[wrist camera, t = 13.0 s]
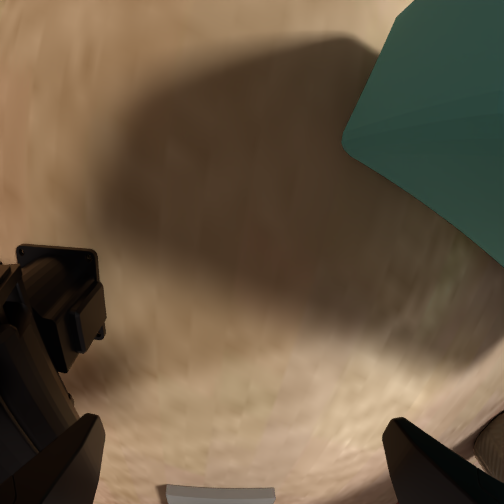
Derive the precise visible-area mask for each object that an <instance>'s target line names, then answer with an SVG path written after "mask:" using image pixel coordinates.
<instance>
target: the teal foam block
mask: <svg viewBox="0 0 504 504" xmlns="http://www.w3.org/2000/svg"><path fill="white" fill-rule="evenodd" d="M341 143H342V146H343V149H344V150H345V151H346V152H347V153H348V154H349V155H350V156H351V157H353V158H354V159H356V160H358V161H359V162H361V163H363V164H364V165H366V166H368V167H369V168H371V169H372V170H374V171H376V172H377V173H379V174H380V175H382V176H384V177H385V178H387V179H388V180H390V181H391V182H393V183H394V184H396V185H397V186H399V187H400V188H402V189H403V190H405V191H406V192H408V193H409V194H411V195H412V196H414V197H415V198H416V199H418V200H419V201H421V202H422V203H424V204H425V205H426V206H428V207H429V208H430V209H432V210H433V211H435V212H436V213H437V214H439V215H440V216H441V217H443V218H444V219H445V220H447V221H448V222H449V223H451V224H452V225H453V226H454V227H456V228H457V229H458V230H460V231H461V232H462V233H463V234H465V235H466V236H467V237H468V238H470V239H471V240H472V241H473V242H475V243H476V244H477V245H478V246H479V247H481V248H482V249H483V250H484V251H485V252H486V253H488V254H489V255H490V256H491V257H492V258H493V259H495V260H496V261H497V262H498V263H499V264H500V265H501V266H503V267H504V0H414V1H413V2H412V3H411V4H410V5H409V6H408V7H407V8H406V9H405V10H404V11H403V12H401V13H400V14H399V15H398V16H397V17H396V19H395V21H394V24H393V26H392V28H391V31H390V33H389V35H388V37H387V39H386V42H385V44H384V46H383V48H382V51H381V53H380V55H379V57H378V59H377V62H376V64H375V66H374V68H373V70H372V72H371V75H370V77H369V79H368V81H367V83H366V85H365V87H364V90H363V92H362V94H361V96H360V98H359V100H358V102H357V104H356V107H355V109H354V111H353V113H352V115H351V117H350V119H349V121H348V123H347V125H346V128H345V130H344V132H343V135H342V141H341Z"/></svg>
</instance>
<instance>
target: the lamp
mask: <svg viewBox="0 0 504 504" xmlns="http://www.w3.org/2000/svg"><path fill="white" fill-rule="evenodd" d="M474 455H475V458H476V459H477V460H478V462H479V464H480V465H481V467H482V468H483V470H484V471H485V473H487V474H489V475H490V476H492V477H494V478H495V479H497V480H499V481H501V482H503V483H504V412H503V413H502V414H500V415H498V416H497V417H496V418H495V419H494V420H492V421H491V423H490V424H489V425H488V426H487V427H486V428H485V429H484V430H483V431H482V432H481V434H480V435H479V436H478V438H477V440H476V442H475V445H474Z"/></svg>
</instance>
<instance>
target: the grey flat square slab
mask: <svg viewBox="0 0 504 504" xmlns="http://www.w3.org/2000/svg"><path fill="white" fill-rule="evenodd" d="M166 498H167V501H168V504H273V503H274V501H275V498H276V497H275V490H274V488H256V489H224V488H201V487H187V486H177V485H168V484H167V488H166Z"/></svg>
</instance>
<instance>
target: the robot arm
mask: <svg viewBox="0 0 504 504" xmlns="http://www.w3.org/2000/svg"><path fill="white" fill-rule="evenodd" d="M22 250H23V251H24V254H23V252H22ZM16 253H17V260H18V264H11V265H2V262H0V504H93V501H94V497H95V493H96V489H97V485H98V481H99V476H100V469H101V462H102V455H103V449H104V443H105V430H104V428H103V425H102V422H101V419H100V417H99V416H98V415H95V414H90V413H86V414H84V415H83V416H82V417H81V418H80V417H79V415H78V413H77V411H76V410H75V408H74V400H73V398H72V396H71V394H70V393H68V392H67V390H66V388H65V386H64V384H63V382H62V380H61V378H60V376H59V373H58V372H61V373H67V372H68V371H69V369H70V367H71V366H72V364H73V362H74V360H75V359H76V357H77V355H78V354H79V353H82V354H84V353H85V352H86V351H87V350H88V348H89V347H90V345H91V343H92V341H93V340H94V339H95V340H102V339H103V338H104V336H105V335H106V330H105V323H104V322H105V320H106V318H107V316H106V308H105V300H104V290H103V285H102V283H101V282H100V280H99V268H98V256H97V253H96V252H95V251H94V250H92V249H85V248H72V247H59V246H46V245H33V244H21V245H19V246H18V247H17V249H16ZM87 255H90V256H91V257H92V260H89V259H88V257H87ZM98 332H100V334H98ZM382 441H383V446H384V450H385V455H386V460H387V464H388V469H389V474H390V477H391V481H392V484H393V487H394V490H395V493H396V496H397V499H398V502H399V504H504V483H503V482H501V481H499V480H497V479H495V478H494V477H492V476H490V475H489V474H487V473H485V472H484V471H482V470H481V469H479V468H477V467H476V466H474V465H473V464H471V463H470V462H468V461H467V460H465V459H464V458H462V457H461V456H459V455H458V454H456V453H455V452H453V451H452V450H450V449H449V448H447V447H446V446H444V445H443V444H441V443H440V442H438V441H437V440H436V439H434V438H433V437H431V436H430V435H428V434H427V433H425V432H424V431H423V430H421V429H420V428H418V427H417V426H415V425H414V424H413V423H411V422H410V421H408V420H407V419H406V418H404V417H398V418H393V419H392V420H390V422H389V424H388V426H387V427H386V429H385V431H384V433H383V436H382Z"/></svg>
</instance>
